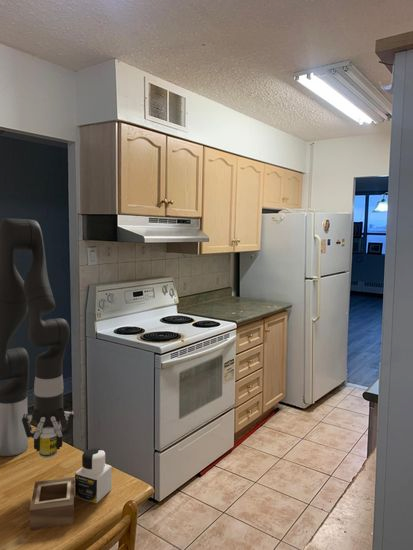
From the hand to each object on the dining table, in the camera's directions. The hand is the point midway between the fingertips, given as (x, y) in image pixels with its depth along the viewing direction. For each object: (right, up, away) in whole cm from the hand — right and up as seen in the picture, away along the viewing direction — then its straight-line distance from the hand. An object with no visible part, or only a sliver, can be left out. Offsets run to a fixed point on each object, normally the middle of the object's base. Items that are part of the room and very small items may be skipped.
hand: (48, 448), depth 120 cm
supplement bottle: (0, -2, 0) cm, 2 cm away
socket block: (+5, -12, -10) cm, 16 cm away
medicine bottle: (+13, -12, -2) cm, 18 cm away
